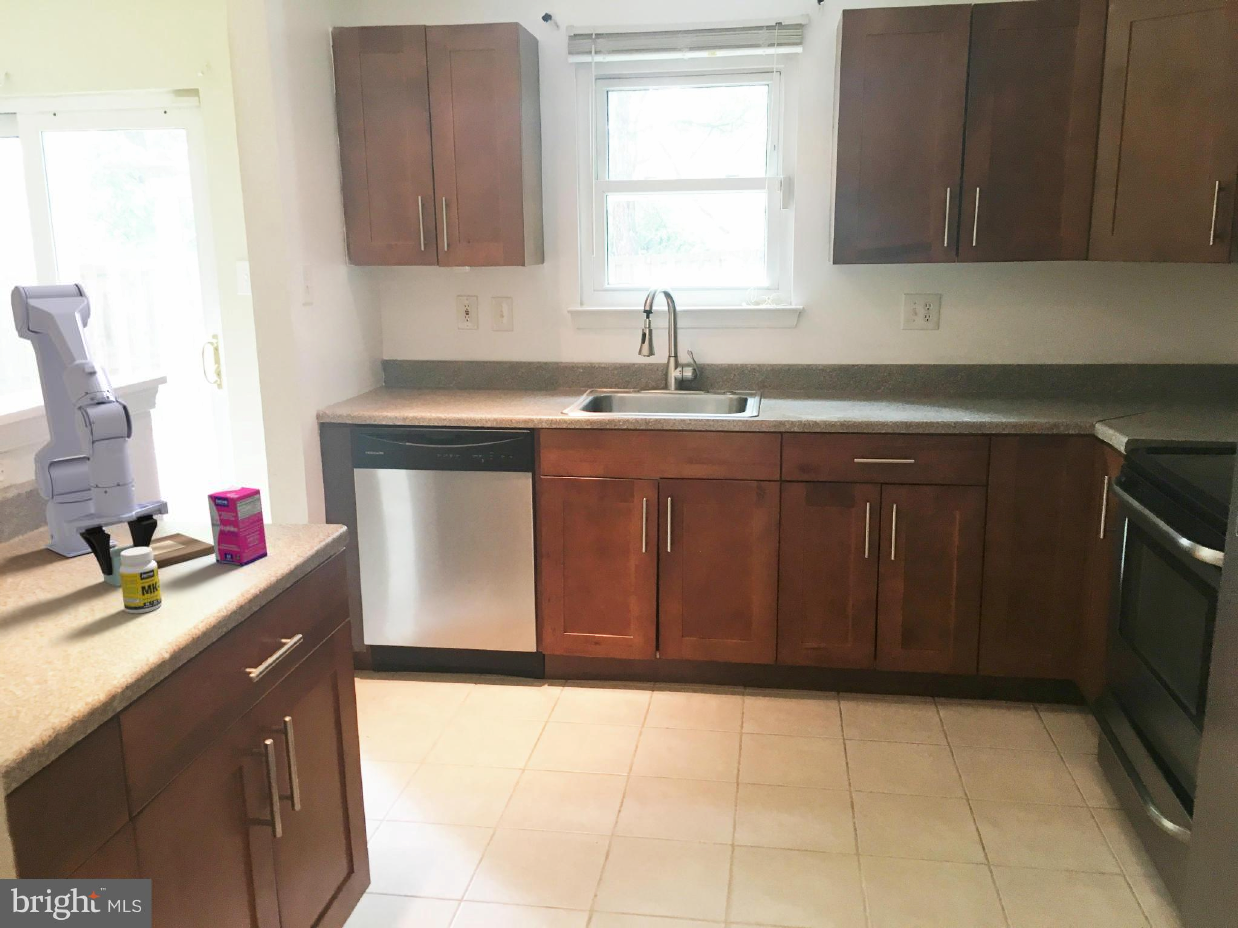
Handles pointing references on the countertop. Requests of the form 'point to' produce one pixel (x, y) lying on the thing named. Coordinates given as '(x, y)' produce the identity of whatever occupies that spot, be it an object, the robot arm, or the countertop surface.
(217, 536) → the supplement box
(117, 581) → the teal cube
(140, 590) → the supplement bottle
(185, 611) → the countertop surface
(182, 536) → the plate
